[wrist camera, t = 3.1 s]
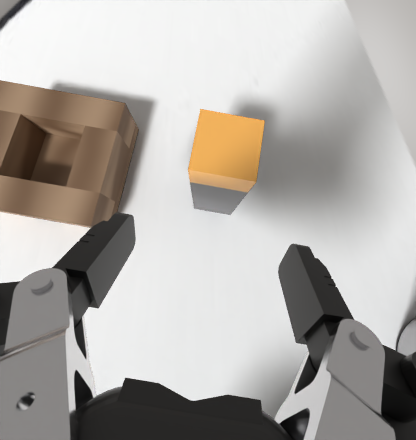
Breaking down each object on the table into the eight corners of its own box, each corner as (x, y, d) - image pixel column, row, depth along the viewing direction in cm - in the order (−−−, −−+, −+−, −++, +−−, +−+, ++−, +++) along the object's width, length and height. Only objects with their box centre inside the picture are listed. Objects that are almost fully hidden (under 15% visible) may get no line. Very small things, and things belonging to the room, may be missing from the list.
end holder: (138, 129, 22) (125, 103, 18) (112, 231, 20) (90, 226, 16) (35, 110, 22) (-1, 80, 18) (-2, 211, 20) (-51, 201, 16)
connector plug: (235, 180, 22) (264, 120, 12) (230, 214, 21) (256, 182, 11) (200, 174, 22) (200, 108, 12) (194, 208, 21) (188, 169, 11)
